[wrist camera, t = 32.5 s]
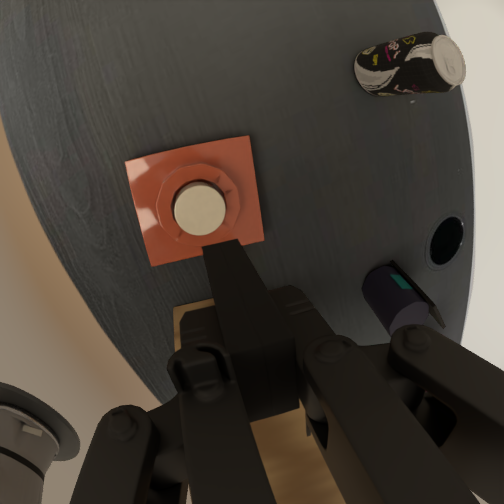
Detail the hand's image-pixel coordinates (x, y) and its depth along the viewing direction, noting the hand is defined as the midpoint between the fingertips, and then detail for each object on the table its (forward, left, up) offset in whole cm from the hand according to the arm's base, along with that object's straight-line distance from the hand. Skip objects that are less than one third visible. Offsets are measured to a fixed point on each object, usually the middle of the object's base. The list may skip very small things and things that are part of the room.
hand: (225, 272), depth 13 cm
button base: (0, 0, -17) cm, 17 cm away
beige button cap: (0, 0, -13) cm, 13 cm away
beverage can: (+21, +11, -17) cm, 29 cm away
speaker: (+21, -16, -17) cm, 31 cm away
